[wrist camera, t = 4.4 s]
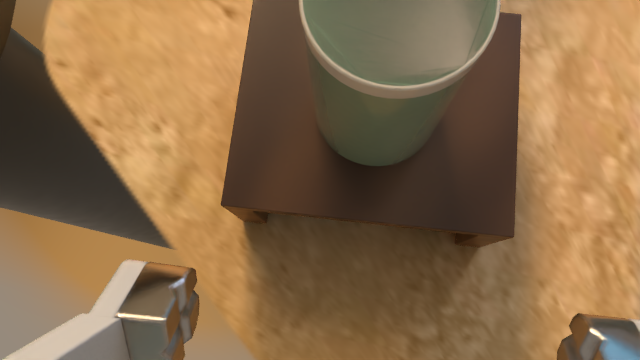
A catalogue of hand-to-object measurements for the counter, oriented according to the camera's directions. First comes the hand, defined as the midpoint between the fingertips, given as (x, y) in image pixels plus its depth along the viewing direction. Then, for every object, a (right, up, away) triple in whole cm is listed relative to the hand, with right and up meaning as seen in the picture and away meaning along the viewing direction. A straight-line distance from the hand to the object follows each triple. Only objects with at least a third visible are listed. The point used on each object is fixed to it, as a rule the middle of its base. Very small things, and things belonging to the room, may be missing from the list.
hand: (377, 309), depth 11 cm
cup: (+2, +7, +15) cm, 16 cm away
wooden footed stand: (+2, +5, +21) cm, 22 cm away
